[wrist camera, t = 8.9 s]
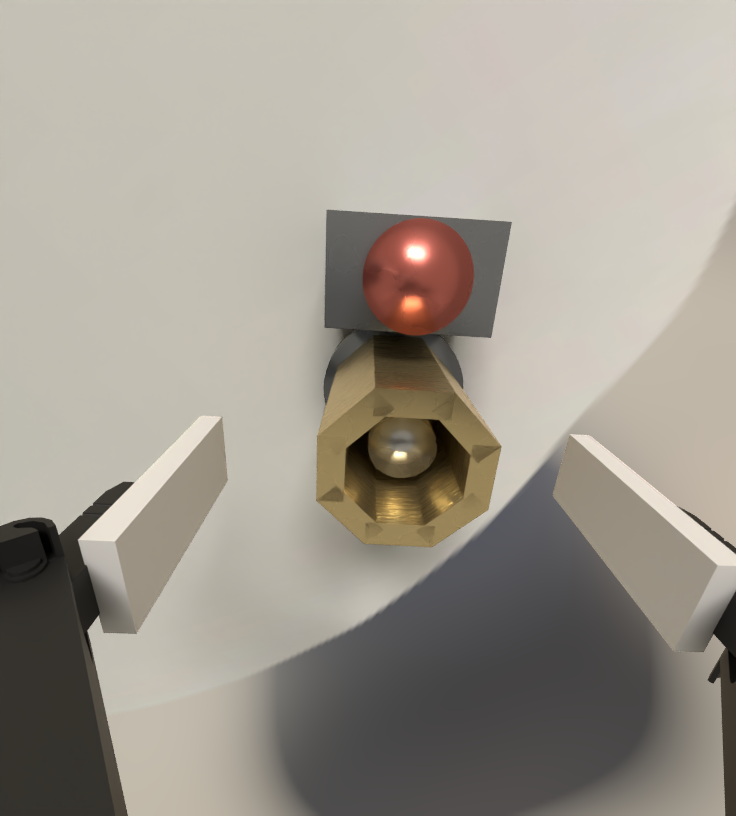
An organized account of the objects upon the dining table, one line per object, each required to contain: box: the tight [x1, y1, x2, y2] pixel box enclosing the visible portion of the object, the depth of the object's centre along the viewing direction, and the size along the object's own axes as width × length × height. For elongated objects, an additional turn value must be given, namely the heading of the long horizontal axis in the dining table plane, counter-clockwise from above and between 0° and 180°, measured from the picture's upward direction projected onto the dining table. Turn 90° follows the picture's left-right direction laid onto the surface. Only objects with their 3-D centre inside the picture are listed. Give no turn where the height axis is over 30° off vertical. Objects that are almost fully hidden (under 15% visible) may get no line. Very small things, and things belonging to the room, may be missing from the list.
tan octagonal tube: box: [316, 335, 501, 547], centre depth 18 cm, size 6×6×9 cm
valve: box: [324, 210, 512, 478], centre depth 19 cm, size 8×13×8 cm, turn 177°
